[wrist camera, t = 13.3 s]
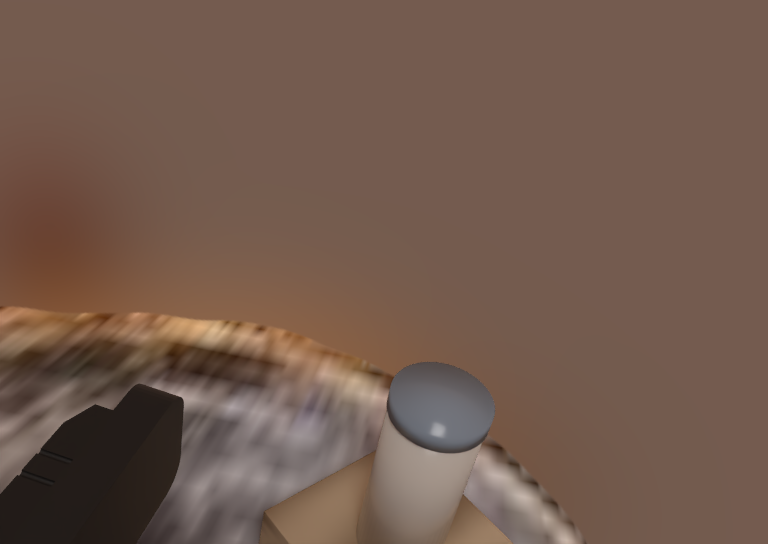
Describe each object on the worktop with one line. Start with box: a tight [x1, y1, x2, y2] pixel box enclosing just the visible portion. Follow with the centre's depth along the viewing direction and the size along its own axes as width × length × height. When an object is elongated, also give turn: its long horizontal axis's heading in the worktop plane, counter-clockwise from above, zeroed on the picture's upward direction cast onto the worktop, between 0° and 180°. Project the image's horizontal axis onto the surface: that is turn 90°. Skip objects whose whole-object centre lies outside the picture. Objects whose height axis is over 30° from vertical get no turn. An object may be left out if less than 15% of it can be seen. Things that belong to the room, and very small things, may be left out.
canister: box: [356, 362, 495, 544], centre depth 37 cm, size 5×5×11 cm
